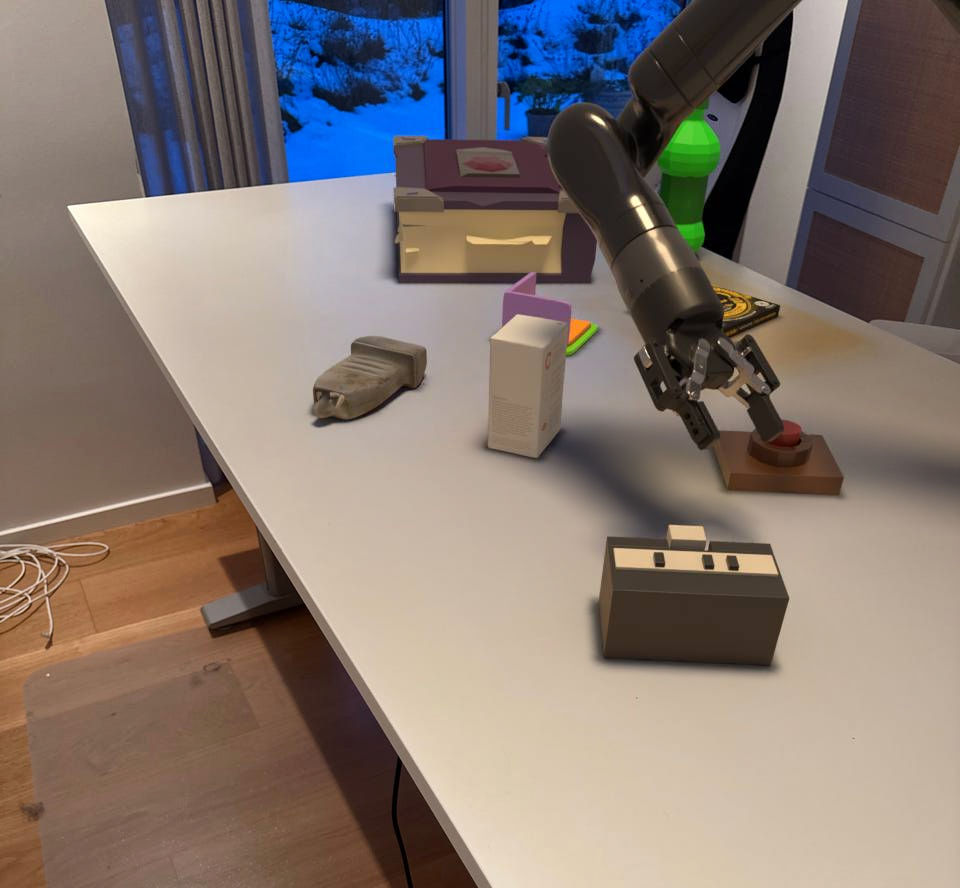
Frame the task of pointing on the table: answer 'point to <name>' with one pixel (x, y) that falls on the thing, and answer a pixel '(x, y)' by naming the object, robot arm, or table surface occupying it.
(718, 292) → the guitar strings
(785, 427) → the bell button
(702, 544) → the white key
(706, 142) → the plastic bottle
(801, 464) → the brown base plate
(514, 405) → the small box
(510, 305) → the toy room diorama
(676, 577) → the toy piano
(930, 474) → the table surface
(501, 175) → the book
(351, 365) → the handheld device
